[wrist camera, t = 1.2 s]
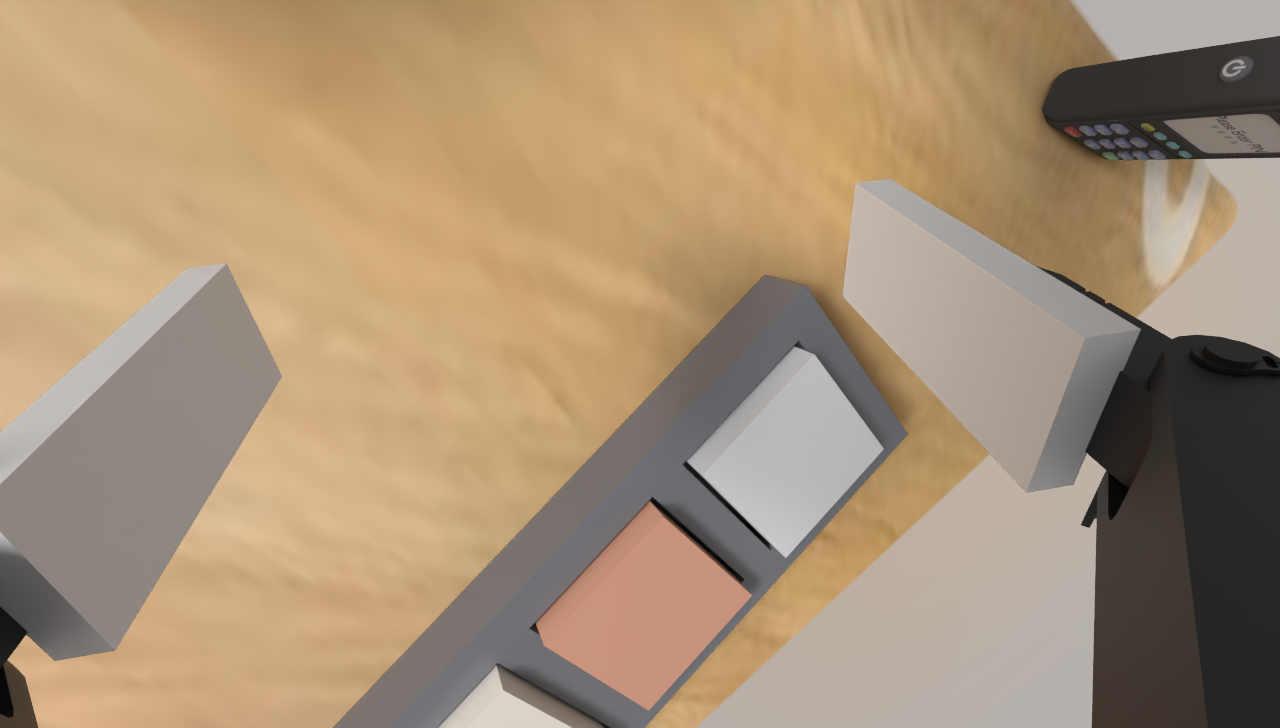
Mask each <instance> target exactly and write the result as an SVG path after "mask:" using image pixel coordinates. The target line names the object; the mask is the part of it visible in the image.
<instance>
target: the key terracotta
mask: <svg viewBox="0 0 1280 728" xmlns="http://www.w3.org/2000/svg"><path fill="white" fill-rule="evenodd" d="M751 596H752V595H751V593H750V592H749V591H748V590H747V589H746V588H745V587H744V586H743V585H742V584H741V582H740V581H739V580H738V579H737V578H736V577H735V576H734V575H733V574H732V573H731V572H730V570H729V569H728V568H727V567H726V566H725V565H724V564H722V563H721V562H720V561H719V560H718V559H717V558H716V557H715V556H713V555H712V554H711V553H710V552H709V551H708V550H707V549H706V548H704V547H703V546H702V545H701V544H700V543H699V542H698V541H697V540H695V539H694V538H693V537H692V536H691V535H690V534H689V533H688V532H687V531H685V530H684V529H683V528H682V527H681V526H680V525H679V524H678V523H676V522H675V521H674V520H673V519H672V518H671V517H670V516H669V515H667V514H666V513H665V512H664V511H663V510H662V509H661V508H660V507H658V506H657V505H656V504H655V503H654V502H653V501H652V500H651V499H650V500H649V501H648V502H647V503H646V504H645V505H644V506H643V507H642V508H641V510H640V511H639V512H638V513H637V514H636V515H635V516H634V517H633V518H632V519H631V520H630V521H629V522H628V523H627V525H626V526H625V527H624V528H623V529H622V530H621V531H620V532H619V533H618V534H617V535H616V536H615V537H614V538H613V540H612V541H611V542H610V543H609V544H608V545H607V546H606V547H605V548H604V549H603V550H602V551H601V552H600V553H599V554H598V556H597V557H596V558H595V559H594V560H593V561H592V562H591V563H590V564H589V565H588V566H587V567H586V568H585V569H584V571H583V572H582V573H581V574H580V575H579V576H578V577H577V578H576V579H575V580H574V581H573V582H572V583H571V584H570V586H569V587H568V588H567V589H566V590H565V591H564V592H563V593H562V594H561V595H560V596H559V597H558V598H557V599H556V600H555V602H554V603H553V604H552V605H551V606H550V607H549V608H548V609H547V610H546V611H545V612H544V613H543V614H542V615H541V617H540V618H539V619H538V620H537V621H536V622H535V623H536V626H537V628H538V631H539V634H540V636H541V639H542V642H543V644H544V646H545V647H547V648H548V649H550V650H552V651H553V652H555V653H556V654H558V655H560V656H561V657H563V658H565V659H566V660H568V661H569V662H571V663H573V664H574V665H576V666H577V667H579V668H581V669H582V670H584V671H586V672H587V673H589V674H590V675H592V676H594V677H595V678H597V679H598V680H600V681H602V682H603V683H605V684H607V685H608V686H610V687H611V688H613V689H615V690H616V691H618V692H619V693H621V694H623V695H624V696H626V697H628V698H629V699H631V700H632V701H634V702H636V703H637V704H639V705H640V706H642V707H644V708H645V709H647V710H648V711H649V710H650V709H651V708H652V706H653V705H654V704H655V703H656V702H657V701H658V700H659V699H660V698H661V696H662V695H663V694H664V693H665V692H666V691H667V690H668V689H669V688H670V686H671V685H672V684H673V683H674V682H675V681H676V680H677V679H678V678H679V676H680V675H681V674H682V673H683V672H684V671H685V670H686V669H687V668H688V666H689V665H690V664H691V663H692V662H693V661H694V660H695V659H696V658H697V656H698V655H699V654H700V653H701V652H702V651H703V650H704V649H705V648H706V646H707V645H708V644H709V643H710V642H711V641H712V640H713V639H714V638H715V636H716V635H717V634H718V633H719V632H720V631H721V630H722V629H723V628H724V626H725V625H726V624H727V623H728V622H729V621H730V620H731V619H732V618H733V616H734V615H735V614H736V613H737V612H738V611H739V610H740V609H741V608H742V606H743V605H744V604H745V603H746V602H747V601H748V600H749V599H750V597H751Z"/></svg>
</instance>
